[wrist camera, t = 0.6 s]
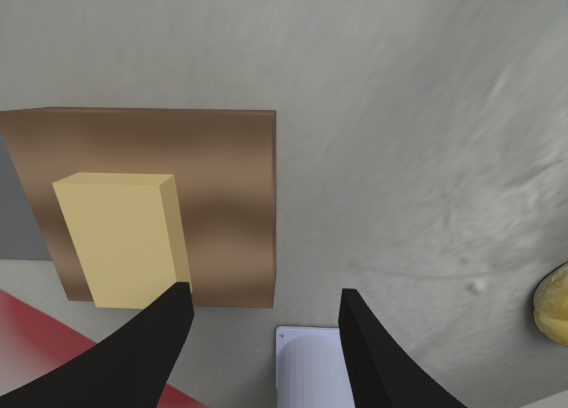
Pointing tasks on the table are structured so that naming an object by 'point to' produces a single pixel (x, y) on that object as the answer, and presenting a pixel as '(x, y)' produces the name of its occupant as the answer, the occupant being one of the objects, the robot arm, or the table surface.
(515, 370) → the table surface
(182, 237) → the pale yellow block
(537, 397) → the table surface
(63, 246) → the board
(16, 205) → the mat
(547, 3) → the table surface
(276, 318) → the table surface
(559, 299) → the bread roll
